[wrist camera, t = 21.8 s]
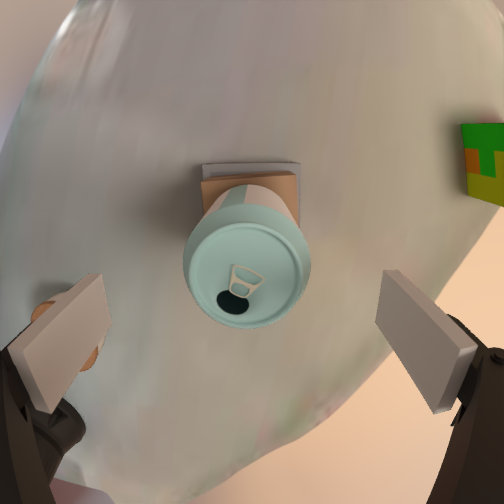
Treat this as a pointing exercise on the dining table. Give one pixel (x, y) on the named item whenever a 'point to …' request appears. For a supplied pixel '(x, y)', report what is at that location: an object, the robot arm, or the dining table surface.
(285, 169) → the tower base
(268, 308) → the can
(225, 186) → the walnut brick
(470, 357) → the robot arm
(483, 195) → the puzzle toy
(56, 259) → the dining table surface
